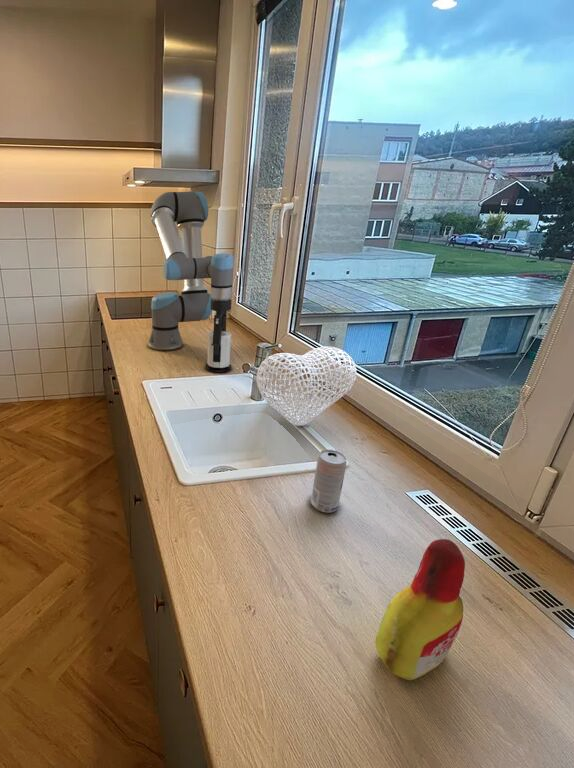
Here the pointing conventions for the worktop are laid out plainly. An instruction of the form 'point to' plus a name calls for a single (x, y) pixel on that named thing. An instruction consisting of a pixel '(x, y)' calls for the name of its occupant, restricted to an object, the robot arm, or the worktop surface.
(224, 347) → the paper towel roll
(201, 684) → the worktop surface
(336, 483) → the energy drink
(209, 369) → the towel stand
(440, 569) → the bottle
